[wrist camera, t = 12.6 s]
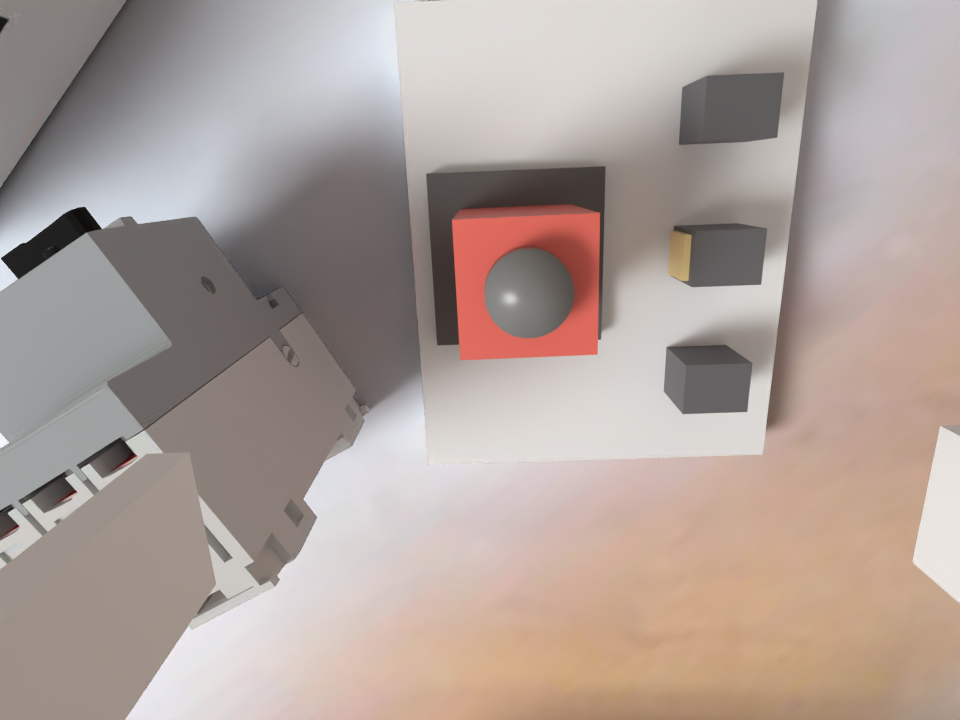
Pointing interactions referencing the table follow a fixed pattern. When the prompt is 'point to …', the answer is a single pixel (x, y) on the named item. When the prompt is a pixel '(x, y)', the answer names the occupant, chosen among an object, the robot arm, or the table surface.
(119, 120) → the table surface
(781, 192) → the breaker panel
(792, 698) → the table surface
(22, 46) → the stereo radio cassette player
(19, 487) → the circuit breaker
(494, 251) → the cap
